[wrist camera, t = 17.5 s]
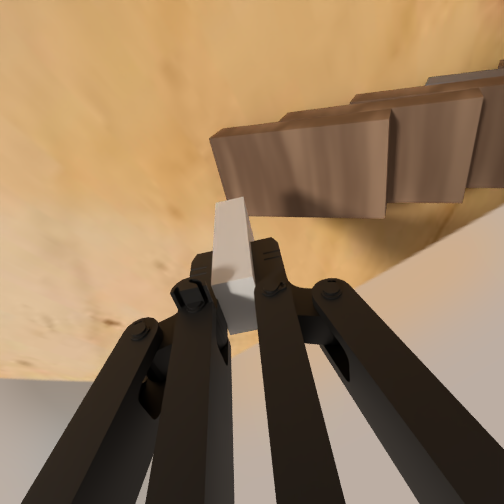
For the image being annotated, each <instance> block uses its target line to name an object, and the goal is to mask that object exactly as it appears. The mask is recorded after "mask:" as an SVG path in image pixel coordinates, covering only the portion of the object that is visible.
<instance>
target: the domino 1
mask: <svg viewBox="0 0 504 504" xmlns="http://www.w3.org/2000/svg"><path fill="white" fill-rule="evenodd" d="M390 124H391V108H390V109H382V110H374V111H365V112H357V113H349V114H341V115H332V116H324V117H316V118H308V119H299V120H291V121H283V122H274V123H266V124H258V125H250V126H241V127H233V128H225V129H221V130H220V131H219V132H217V133H216V134H215V135H213V136H212V137H210V138H209V140H210V144H211V147H212V151H213V154H214V157H215V161H216V164H217V168H218V171H219V175H220V178H221V182H222V185H223V188H224V192H225V195H226V199H227V200H231V199H235V198H239V197H244V201H245V205H246V209H247V213H248V216H269V217H321V218H374V219H385V213H386V206H387V189H388V167H389V146H390Z"/></svg>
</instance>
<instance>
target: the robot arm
mask: <svg viewBox="0 0 504 504" xmlns="http://www.w3.org/2000/svg"><path fill="white" fill-rule="evenodd" d="M170 294H171V296H172V298H173V300H174V302H175V304H176V306H177V308H178V313H176V314H175V315H173V316H171V317H170V318H168V319H165V320H163V321H161V322H159V323H158V322H157V321H156V320H155V319H154V318H149V317H147V318H141V319H139V320H137V321H135V322H133V323H132V324H131V325H129V326H128V327H127V329H126V330H125V331H124V333H123V334H122V336H121V338H120V339H119V341H118V343H117V344H116V346H115V348H114V349H113V351H112V353H111V354H110V356H109V358H108V359H107V361H106V363H105V364H104V366H103V368H102V369H101V371H100V373H99V374H98V376H97V378H96V379H95V381H94V383H93V384H92V386H91V388H90V389H89V391H88V393H87V394H86V396H85V398H84V399H83V401H82V403H81V405H80V406H79V408H78V409H77V411H76V413H75V414H74V416H73V418H72V419H71V421H70V423H69V424H68V426H67V428H66V429H65V431H64V433H63V435H62V436H61V438H60V439H59V441H58V443H57V444H56V446H55V448H54V449H53V451H52V453H51V454H50V456H49V458H48V459H47V461H46V463H45V464H44V466H43V468H42V469H41V471H40V473H39V475H38V476H37V478H36V479H35V481H34V483H33V484H32V486H31V488H30V489H29V491H28V493H27V494H26V496H25V498H24V499H23V501H22V503H21V504H135V503H136V500H137V497H138V495H139V492H140V489H141V487H142V484H143V481H144V478H145V476H146V473H147V470H148V467H149V465H150V462H151V459H152V457H153V461H152V467H151V473H150V479H149V485H148V491H147V497H146V502H145V504H234V470H233V469H234V468H233V467H234V466H233V422H232V379H231V378H232V377H231V345H230V342H229V339H228V334H227V328H228V330H229V333H230V335H233V334H238V333H243V332H248V331H252V330H257V329H258V337H259V346H260V355H261V364H262V373H263V382H264V392H265V401H266V410H267V419H268V429H269V437H270V446H271V456H272V465H273V474H274V484H275V493H276V502H277V504H346V503H345V499H344V496H343V492H342V488H341V485H340V480H339V476H338V472H337V469H336V465H335V461H334V457H333V453H332V449H331V445H330V441H329V437H328V433H327V429H326V426H325V422H324V418H323V414H322V410H321V406H320V402H319V398H318V395H317V390H316V387H315V383H314V379H313V375H312V371H311V367H310V363H309V360H308V355H307V352H306V348H305V344H304V343H308V344H319V345H320V347H321V349H322V351H323V352H324V354H325V355H326V357H327V359H328V360H329V362H330V363H331V365H332V366H333V368H334V370H335V371H336V373H337V374H338V376H339V377H340V379H341V381H342V382H343V384H344V385H345V387H346V388H347V390H348V392H349V393H350V395H351V396H352V398H353V400H354V401H355V402H356V404H357V406H358V407H359V409H360V411H361V412H362V414H363V415H364V417H365V418H366V420H367V422H368V423H369V425H370V426H371V428H372V429H373V431H374V433H375V434H376V436H377V437H378V439H379V440H380V442H381V443H382V445H383V447H384V448H385V450H386V452H387V453H388V455H389V456H390V458H391V459H392V461H393V463H394V464H395V466H396V467H397V469H398V470H399V472H400V474H401V475H402V477H403V478H404V480H405V481H406V483H407V484H408V486H409V488H410V489H411V491H412V492H413V494H414V496H415V497H416V499H417V500H418V502H419V503H420V504H504V449H503V448H502V447H501V446H500V445H499V444H498V443H497V442H496V440H495V439H494V438H493V437H492V436H491V435H490V434H489V433H488V432H487V431H486V430H485V429H484V428H483V427H482V426H481V424H479V422H478V421H477V420H476V419H475V418H474V417H473V416H472V415H471V414H470V413H469V412H468V411H467V410H466V409H465V407H464V406H462V404H461V403H460V402H459V401H458V400H457V399H456V398H455V397H454V396H453V395H452V394H451V393H450V392H449V390H448V389H447V388H446V387H445V386H444V385H443V384H442V383H441V382H440V381H439V380H438V379H437V378H436V377H435V376H434V374H433V373H431V371H430V370H429V369H428V368H427V367H426V366H425V365H424V364H423V363H422V362H421V361H420V360H419V359H418V358H417V356H416V355H415V354H414V353H413V352H412V351H411V350H410V349H409V348H408V347H407V346H406V345H405V344H404V343H403V342H402V340H400V338H399V337H398V336H397V335H396V334H395V333H394V332H393V331H392V330H391V329H390V328H389V327H388V326H387V325H386V324H385V322H384V321H383V320H382V319H381V318H380V317H379V316H378V315H377V314H376V313H375V312H374V311H373V310H372V309H371V307H369V305H368V304H367V303H366V302H365V301H364V300H363V299H362V298H361V297H360V296H359V295H358V294H357V293H356V292H355V290H354V289H353V288H352V287H351V286H350V285H349V284H348V283H346V282H345V281H343V280H340V279H337V278H328V279H324V280H321V281H319V282H317V283H316V284H315V285H314V287H313V288H312V289H310V288H300V287H296V286H294V285H292V284H291V283H290V282H289V281H288V279H287V276H286V273H285V269H284V265H283V261H282V257H281V253H280V249H279V245H278V242H277V241H275V240H274V239H273V238H272V237H270V238H266V239H261V240H257V241H254V237H253V233H252V229H251V225H250V221H249V217H248V213H247V209H246V205H245V201H244V197H239V198H235V199H231V200H226V201H222V202H218V203H216V205H215V223H214V240H213V251H210V252H206V253H201V254H197V255H196V257H195V258H194V260H193V261H192V264H191V271H190V277H189V278H186V279H183V280H182V281H180V282H178V283H177V284H176V285H175V286H174V287H173V288H172V290H171V292H170ZM153 454H154V455H153Z"/></svg>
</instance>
